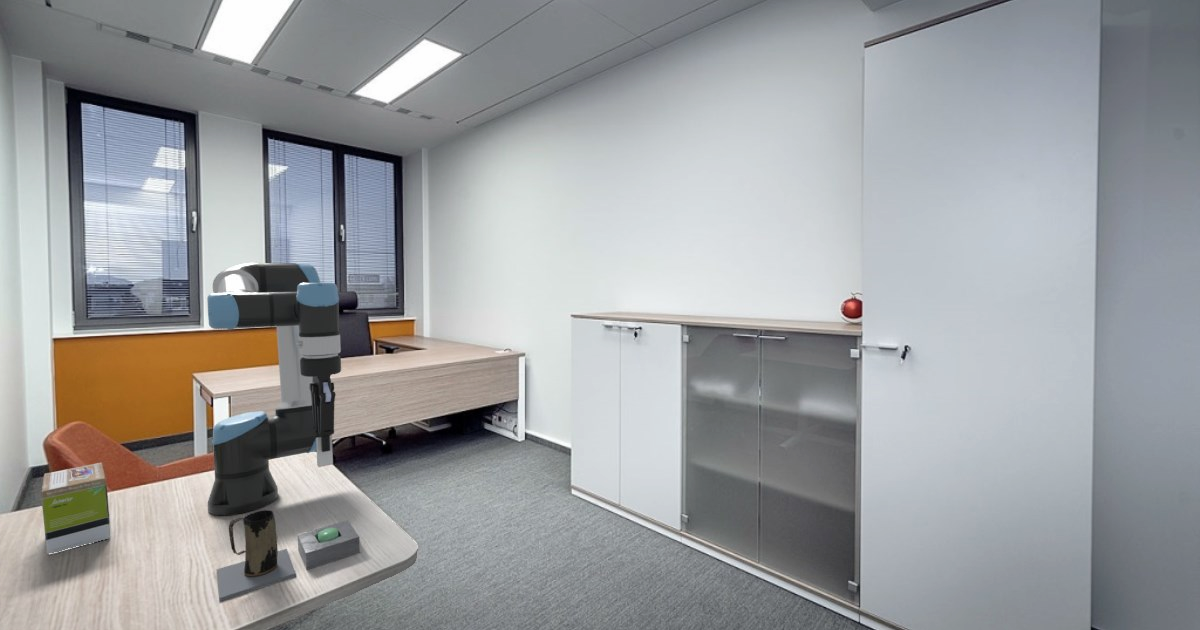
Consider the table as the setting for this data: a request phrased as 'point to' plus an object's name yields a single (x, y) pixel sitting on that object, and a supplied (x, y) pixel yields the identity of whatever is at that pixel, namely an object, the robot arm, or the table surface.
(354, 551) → the button box
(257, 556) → the mug
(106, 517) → the tea box
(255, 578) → the mat
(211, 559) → the table surface
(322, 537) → the button
